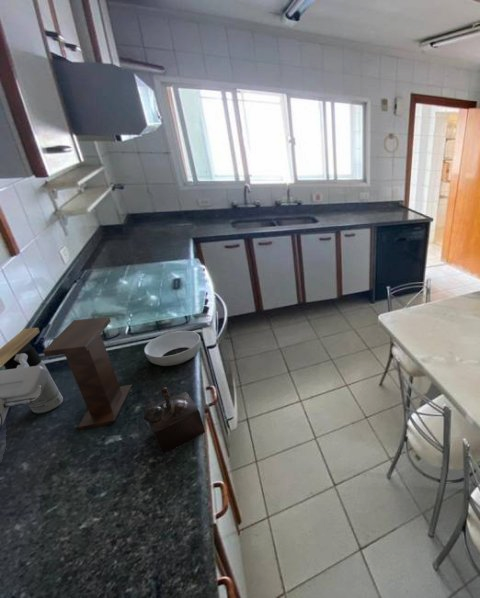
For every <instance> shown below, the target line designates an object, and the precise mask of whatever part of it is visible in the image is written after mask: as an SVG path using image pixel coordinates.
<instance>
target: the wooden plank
mask: <svg viewBox="0 0 480 598" xmlns="http://www.w3.org/2000/svg"><path fill="white" fill-rule="evenodd" d="M39 333H40V328H39V327H30V328H23V329H22V330H21V331H20V332H19V333H18V334H17V333H16V335H15V336H14V337H12V339H11V338H10V340H9V341H8V342H7V343H5V344H4V345H3V346H2V347H0V368H2V367H4V364H5V363H6V362H7V361H8V360H9V359H10V358H12V357H13V356H14V355H15V354H16V353H17V352H18V351H19V350H20V349H22V348H23V347H24V346H25V345H26V344H27V343H28V344H29V342H30V341H32V340H33V339H34V338H35V337H36V336H37V335H38V334H39Z"/></svg>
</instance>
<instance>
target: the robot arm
mask: <svg viewBox="0 0 480 598" xmlns="http://www.w3.org/2000/svg"><path fill="white" fill-rule="evenodd" d="M27 358H28V356H27V355H26V354H25V353H23V354H16V357H15V358H14V360H15V361H17V362H18V363H20V364H21V365H17V368H16V369H8V370H6V369H2V370H0V431H1V430H2V427H3V426H4V424H5V421H6V418H7V414H8V413H9V408H10V407H15V406H20V405H28V404H29V403H31V402H32V401H34V400H36V399H38V398H39V397H40V396H41V394H42V390H43V387H44V385H45V383H46V381H47V379H48V376H49V374H50V372H49V370H48V369H47V370H48V371H47V370H46V369H45V368H43V367H41V366H32V367H30V366H29V365H28V363H27V362H26V361H27ZM32 399H33V400H32Z"/></svg>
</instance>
